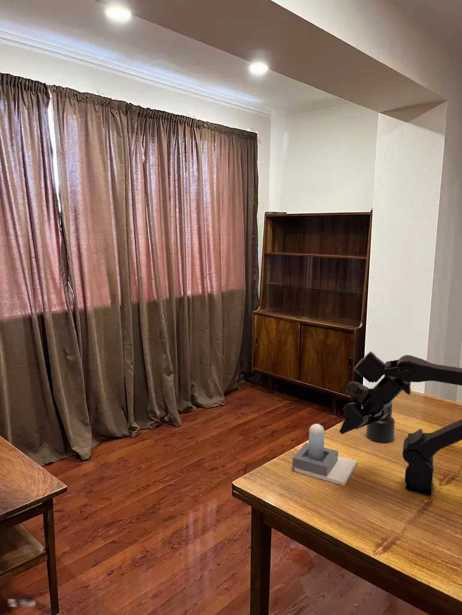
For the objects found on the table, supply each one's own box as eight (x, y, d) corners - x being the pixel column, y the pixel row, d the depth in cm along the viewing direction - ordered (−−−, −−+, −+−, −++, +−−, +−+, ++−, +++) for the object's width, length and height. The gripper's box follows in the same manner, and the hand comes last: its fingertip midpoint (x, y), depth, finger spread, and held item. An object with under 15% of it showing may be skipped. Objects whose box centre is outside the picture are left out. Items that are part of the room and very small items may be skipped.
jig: (357, 464, 133) (357, 452, 133) (344, 485, 122) (345, 472, 122) (307, 451, 141) (308, 439, 141) (292, 470, 130) (292, 458, 130)
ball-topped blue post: (326, 464, 131) (327, 425, 129) (315, 469, 129) (316, 429, 127) (315, 458, 135) (317, 420, 133) (305, 462, 133) (306, 423, 130)
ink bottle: (400, 438, 149) (402, 405, 147) (383, 446, 144) (385, 411, 142) (376, 428, 157) (378, 396, 155) (359, 434, 152) (361, 402, 150)
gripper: (375, 370, 132) (343, 405, 138) (348, 373, 118) (313, 412, 124) (404, 398, 127) (368, 433, 132) (378, 405, 112) (340, 444, 118)
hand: (348, 430), depth 127 cm, fingers open, 9 cm apart
